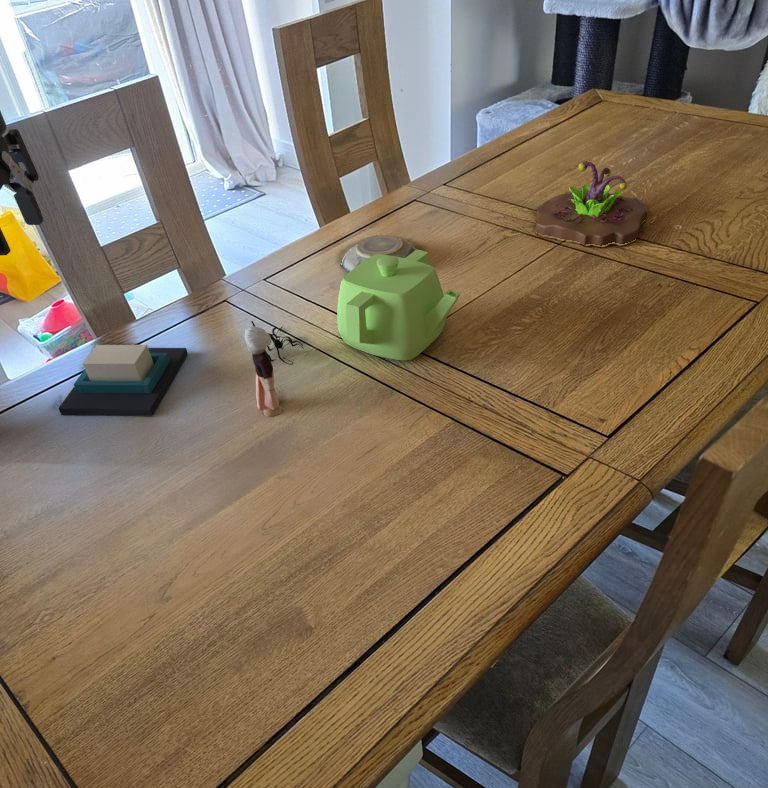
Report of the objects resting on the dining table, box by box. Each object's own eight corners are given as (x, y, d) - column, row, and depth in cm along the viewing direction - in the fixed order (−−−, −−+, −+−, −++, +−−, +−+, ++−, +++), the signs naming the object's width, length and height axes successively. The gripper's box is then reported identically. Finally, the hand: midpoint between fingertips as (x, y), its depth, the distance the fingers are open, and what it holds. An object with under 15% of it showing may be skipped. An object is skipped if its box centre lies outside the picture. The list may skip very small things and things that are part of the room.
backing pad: (61, 415, 100) (53, 399, 98) (105, 354, 111) (99, 339, 109) (152, 416, 98) (146, 400, 96) (188, 354, 109) (183, 339, 107)
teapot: (488, 327, 108) (491, 245, 99) (421, 394, 97) (418, 309, 88) (390, 301, 116) (384, 224, 107) (318, 361, 105) (304, 280, 96)
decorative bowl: (349, 246, 133) (331, 282, 123) (348, 226, 131) (329, 262, 120) (427, 247, 131) (415, 284, 120) (427, 227, 128) (415, 264, 118)
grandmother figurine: (250, 400, 99) (229, 320, 90) (275, 391, 100) (257, 311, 91) (268, 428, 94) (249, 346, 85) (295, 418, 95) (278, 337, 86)
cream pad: (92, 386, 103) (82, 363, 100) (105, 367, 106) (96, 344, 103) (143, 386, 102) (134, 363, 99) (155, 367, 105) (147, 344, 102)
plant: (553, 198, 141) (559, 139, 133) (652, 209, 134) (664, 147, 126) (522, 240, 129) (526, 177, 121) (629, 253, 122) (641, 187, 114)
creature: (300, 344, 111) (249, 342, 109) (302, 313, 108) (250, 310, 106) (305, 370, 106) (252, 369, 104) (307, 339, 102) (252, 336, 100)
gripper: (-44, 73, 80) (19, 215, 91) (-122, 111, 70) (-40, 265, 81) (16, 69, 79) (72, 214, 90) (-54, 108, 69) (19, 264, 80)
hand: (19, 238), depth 86 cm, fingers open, 8 cm apart
